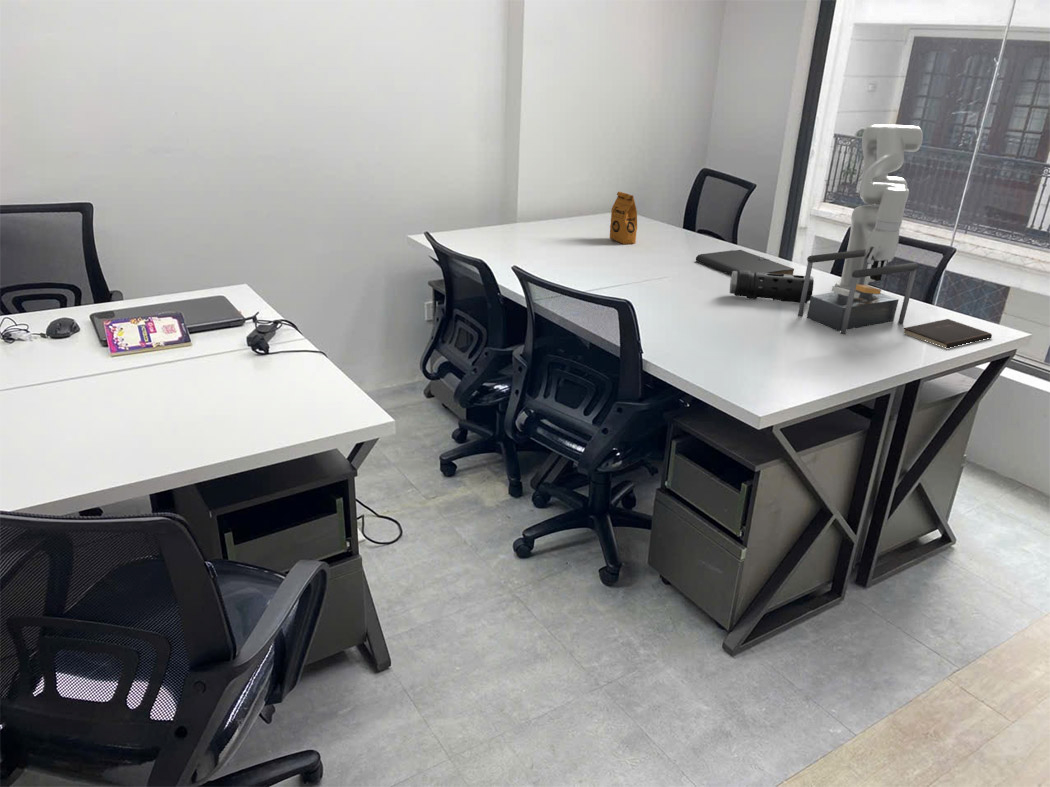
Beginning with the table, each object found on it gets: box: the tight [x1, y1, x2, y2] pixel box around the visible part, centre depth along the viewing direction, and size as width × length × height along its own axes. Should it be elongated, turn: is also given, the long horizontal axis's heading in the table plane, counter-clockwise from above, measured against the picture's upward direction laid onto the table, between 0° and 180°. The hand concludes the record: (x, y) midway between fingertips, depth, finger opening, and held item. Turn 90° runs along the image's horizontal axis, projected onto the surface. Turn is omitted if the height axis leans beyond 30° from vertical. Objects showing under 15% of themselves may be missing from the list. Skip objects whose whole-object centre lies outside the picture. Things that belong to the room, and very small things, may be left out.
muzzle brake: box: [729, 270, 815, 304], centre depth 280 cm, size 10×28×10 cm, turn 78°
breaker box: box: [806, 290, 900, 332], centre depth 262 cm, size 26×14×9 cm, turn 117°
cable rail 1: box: [797, 249, 868, 318], centre depth 267 cm, size 29×2×21 cm, turn 116°
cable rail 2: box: [840, 262, 919, 336], centre depth 252 cm, size 29×2×21 cm, turn 116°
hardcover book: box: [903, 318, 993, 349], centre depth 252 cm, size 16×23×2 cm
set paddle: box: [830, 286, 860, 298], centre depth 258 cm, size 8×5×2 cm, turn 117°
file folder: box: [695, 249, 795, 276], centre depth 320 cm, size 33×4×24 cm
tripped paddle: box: [855, 284, 882, 294], centre depth 262 cm, size 8×5×2 cm, turn 117°
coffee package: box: [609, 191, 638, 245], centre depth 353 cm, size 10×12×22 cm
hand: (875, 279), depth 262 cm, fingers closed
